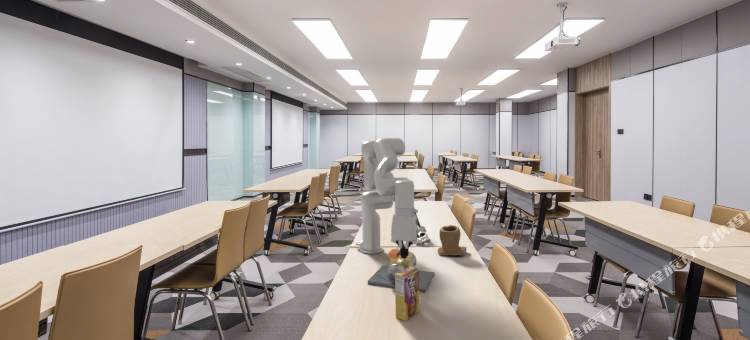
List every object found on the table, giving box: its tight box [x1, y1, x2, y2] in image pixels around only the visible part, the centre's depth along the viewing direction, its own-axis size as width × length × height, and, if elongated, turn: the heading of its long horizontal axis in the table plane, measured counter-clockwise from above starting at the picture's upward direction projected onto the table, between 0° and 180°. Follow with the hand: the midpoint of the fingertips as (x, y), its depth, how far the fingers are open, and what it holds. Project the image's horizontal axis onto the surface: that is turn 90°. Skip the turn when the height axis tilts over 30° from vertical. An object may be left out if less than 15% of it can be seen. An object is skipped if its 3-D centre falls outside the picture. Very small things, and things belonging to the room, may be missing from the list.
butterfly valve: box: [414, 213, 429, 245], centre depth 202 cm, size 9×20×17 cm
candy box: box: [394, 266, 420, 322], centre depth 119 cm, size 9×4×15 cm, turn 140°
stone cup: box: [436, 224, 467, 256], centre depth 179 cm, size 15×12×15 cm
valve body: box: [367, 251, 436, 294], centre depth 148 cm, size 24×19×13 cm
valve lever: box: [387, 242, 406, 259], centre depth 142 cm, size 14×3×2 cm, turn 158°
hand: (404, 257), depth 138 cm, fingers closed
